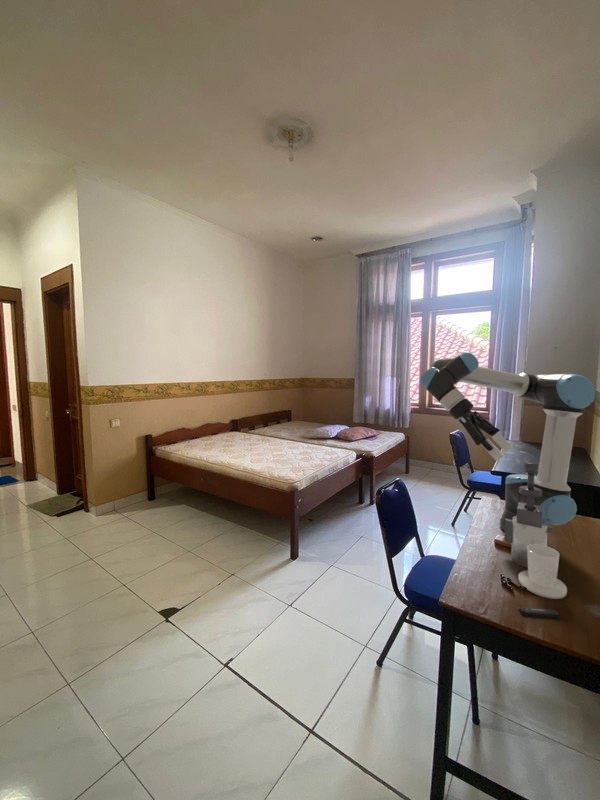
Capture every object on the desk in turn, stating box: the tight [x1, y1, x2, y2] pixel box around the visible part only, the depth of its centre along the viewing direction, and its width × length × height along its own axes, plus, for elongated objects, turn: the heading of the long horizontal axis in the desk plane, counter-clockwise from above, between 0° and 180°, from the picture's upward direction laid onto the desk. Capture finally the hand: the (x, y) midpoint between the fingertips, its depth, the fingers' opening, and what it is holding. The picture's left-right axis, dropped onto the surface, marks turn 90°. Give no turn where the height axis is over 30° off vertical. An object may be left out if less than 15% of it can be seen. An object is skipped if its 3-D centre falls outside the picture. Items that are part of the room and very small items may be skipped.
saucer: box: [518, 569, 568, 600], centre depth 101 cm, size 12×12×1 cm
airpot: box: [504, 502, 553, 568], centre depth 114 cm, size 13×10×19 cm
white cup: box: [527, 544, 560, 588], centre depth 101 cm, size 8×8×10 cm
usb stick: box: [518, 607, 561, 619], centre depth 89 cm, size 10×3×2 cm, turn 82°
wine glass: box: [519, 461, 542, 510], centre depth 113 cm, size 6×6×16 cm
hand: (505, 453), depth 105 cm, fingers open, 13 cm apart
